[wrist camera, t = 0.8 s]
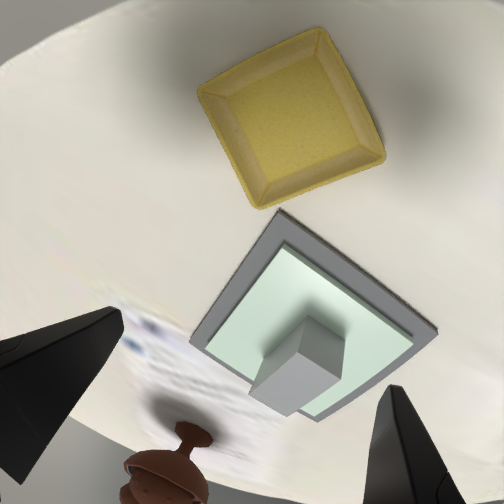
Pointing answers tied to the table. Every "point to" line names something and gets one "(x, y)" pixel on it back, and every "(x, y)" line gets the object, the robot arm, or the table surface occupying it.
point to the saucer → (291, 119)
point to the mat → (335, 267)
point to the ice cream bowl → (168, 472)
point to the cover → (305, 337)
